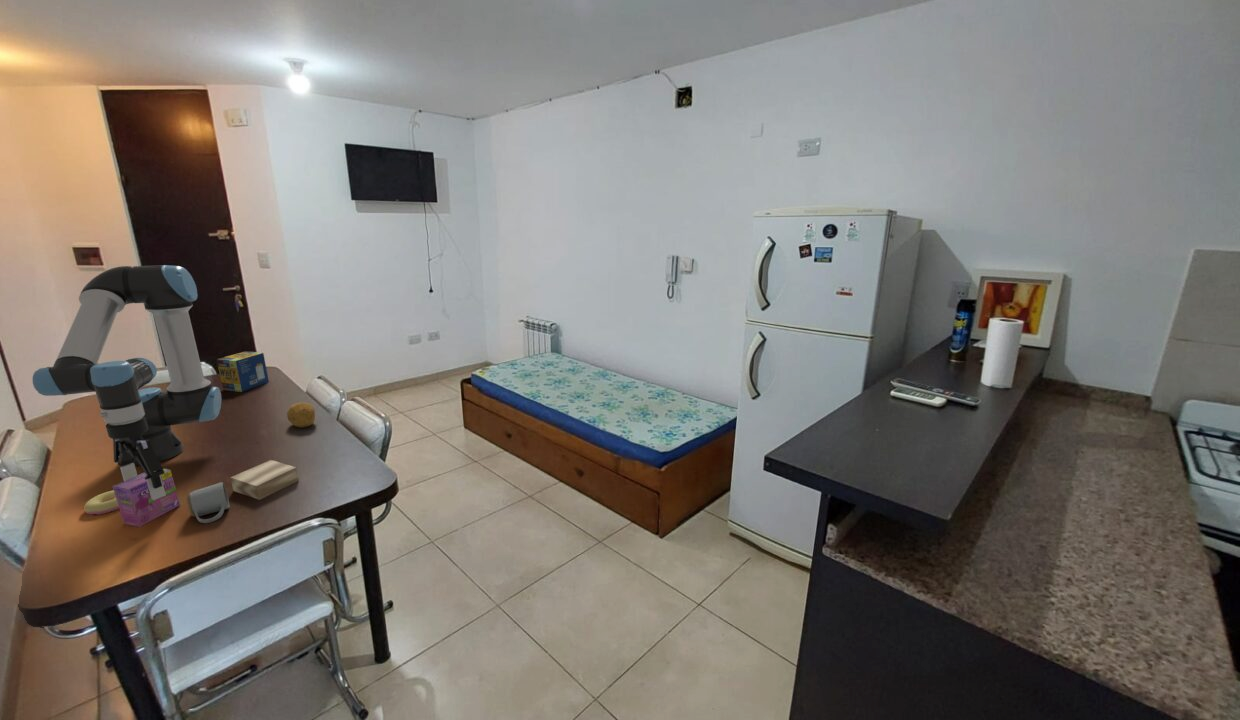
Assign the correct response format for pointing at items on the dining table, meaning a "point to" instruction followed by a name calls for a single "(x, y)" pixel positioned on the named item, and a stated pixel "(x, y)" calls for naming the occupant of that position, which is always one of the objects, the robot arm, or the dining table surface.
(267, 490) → the maple block
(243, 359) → the protein box
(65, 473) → the dining table surface
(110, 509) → the donut
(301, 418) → the potato
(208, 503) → the ceramic mug
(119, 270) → the robot arm
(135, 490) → the box
